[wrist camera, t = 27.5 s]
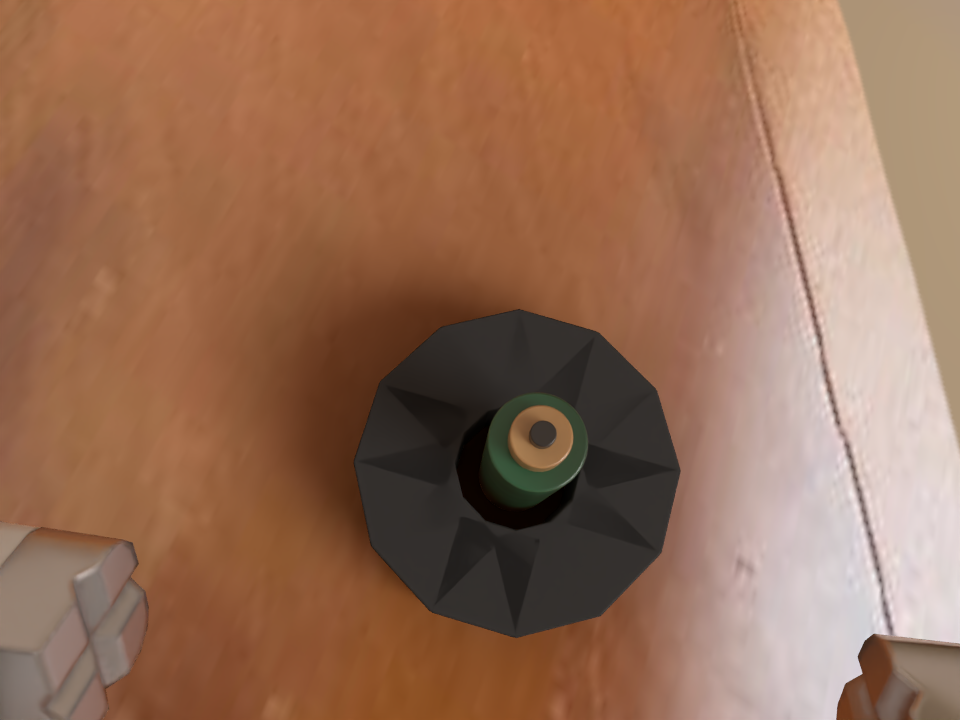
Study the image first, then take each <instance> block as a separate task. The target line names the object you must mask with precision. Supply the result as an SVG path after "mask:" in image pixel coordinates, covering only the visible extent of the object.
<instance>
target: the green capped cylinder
mask: <svg viewBox="0 0 960 720" xmlns="http://www.w3.org/2000/svg"><path fill="white" fill-rule="evenodd" d="M587 451H588V436H587V431H586V428H585V425H584V423H583V421H582V418H581V417H580V415H579V414H578V412H577V411H576V410H575V409H574V408H573V407H572V406H571V405H570V404H569V403H567V402H566V401H564V400H563V399H561V398H559V397H557V396H554V395H551V394H547V393H540V392H534V393H526V394H522V395H519V396H517V397H515V398H513V399H511V400H510V401H508V402H507V403H505V404H504V405H503V406H502V407H501V408H500V409H499V410H498V412H497V413H496V415H495V416H494V418H493V420H492V422H491V424H490V427H489V431H488V435H487V439H486V443H485V447H484V452H483V456H482V460H481V464H480V468H479V482H480V486H481V489H482V491H483V493H484V494H485V496H486V497H487V499H488V500H489V501H490V502H491V503H492V504H494V505H495V506H497V507H499V508H500V509H503V510H506V511H512V512H520V511H525V510H528V509H530V508H532V507H534V506H536V505H537V504H539V503H540V502H541V501H543V500H544V499H546V498H547V497H549V496H550V495H552V494H553V493H555V492H556V491H558V490H559V489H561V488H562V487H563V486H565V485H566V484H568V483H569V482H570V481H571V480H573V479H574V478H575V477H576V475H577V474H578V473H579V471H580V470H581V468H582V466H583V464H584V462H585V459H586V456H587Z"/></svg>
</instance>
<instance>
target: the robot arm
mask: <svg viewBox="0 0 960 720" xmlns="http://www.w3.org/2000/svg"><path fill="white" fill-rule="evenodd" d="M138 564H139V563H138V560H137V556H136V553H135V549H134V546H133V543H132V542H129V541H125V540H122V539H116V538H109V537H103V536H96V535H90V534H83V533H77V532H70V531H64V530H57V529H51V528H44V527H34V526H27V525H20V524H14V523H7V522H0V720H103V718H104V717H105V715H106V713H107V711H108V710H109V705H108V699H107V694H106V688H108V687H109V686H111V685H112V684H114V683H115V682H117V681H118V680H120V679H121V678H123V677H124V676H126V675H127V674H129V672H130V670H131V668H132V667H133V665H134V663H135V661H136V659H137V657H138V655H139V654H140V652H141V648H142V645H143V641H144V638H145V634H146V631H147V628H148V609H149V606H148V602H147V597H146V592H145V591H144V590H143V589H142V588H141V587H140V586H139V585H138V584H137V583H136V582H135V581H134V580H133V579H132V578H131V575H132V574H133V572H134V570H135V569H136V567H137V566H138ZM858 659H859V663H860V666H861V669H862V673H863V674H862V675H860V676H858V677H856V678H855V679H853V680H851V681H849V682H848V683H846V684H845V687H844V689H843V692H842V694H841V697H840V700H839V702H838V707H837V718H836V720H960V644H958V643H949V642H940V641H932V640H923V639H914V638H906V637H897V636H888V635H880V634H873V635H872V636H870V637H869V638H868V639H867V640H865V642H864V644H863V646H862V648H861V650H860V653H859V655H858Z"/></svg>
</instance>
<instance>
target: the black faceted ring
mask: <svg viewBox="0 0 960 720" xmlns="http://www.w3.org/2000/svg"><path fill="white" fill-rule="evenodd" d="M534 392H540V393H547V394H551V395H554V396H557V397H559V398H561V399H563V400H564V401H566V402H567V403H569V404H570V405H571V406H572V407H573V408H574V409H575V410H576V411H577V412H578V414H579V415H580V417H581V418H582V421H583V423H584V425H585V428H586V431H587V436H588V451H587V456H586V459H585V462H584V464H583V466H582V468H581V470H580V471H579V473H578V474H577V475H576V477H575V478H574V479H573V480H571V481H570V482H569V483H568V484H566V485H565V489H564V493H563V496H562V500H561V504H560V506H559V507H558V508H557V509H556V510H555V511H554V512H553V513H552V514H551V515H550V516H549V517H548V518H547V519H546V520H545V521H544V522H543V523H542V524H538V525H534V526H530V527H526V528H522V529H518V530H516V529H512V528H509V527H506V526H502V525H499V524H496V523H492V522H489V521H486V520H484V518H483V517H482V516H481V515H480V514H479V513H478V512H477V511H476V510H475V509H474V508H473V507H472V506H471V505H470V504H469V502H468V501H467V500H466V499H465V498H464V497H463V495H462V491H461V487H460V483H459V478H458V474H457V467H458V464H459V460H460V457H461V454H462V450H463V447H464V445H466V444H467V443H468V442H469V441H470V440H471V439H472V438H473V437H474V436H475V435H476V434H477V433H478V432H479V431H480V430H481V429H482V428H484V427H485V426H489V425H490V424H491V422H492V420H493V418H494V416H495V415H496V413H497V412H498V410H499V409H500V408H501V407H502V406H503V405H504V404H505V403H507V402H508V401H510V400H511V399H513V398H515V397H517V396H519V395H522V394H526V393H534ZM354 467H355V471H356V476H357V481H358V486H359V490H360V495H361V500H362V505H363V510H364V514H365V519H366V524H367V529H368V534H369V538H370V543H371V546H372V548H373V549H374V550H375V551H376V552H377V553H378V555H379V556H380V557H381V558H382V559H383V560H384V561H385V562H386V563H387V564H388V566H389V567H390V568H391V569H392V570H393V571H394V572H395V573H396V574H397V575H398V577H399V578H400V579H401V580H402V581H403V582H404V583H405V584H406V585H407V587H408V588H409V589H410V590H411V591H412V592H413V593H414V594H415V595H416V596H417V598H418V599H419V600H420V601H421V602H422V603H423V604H424V605H425V606H426V608H427V609H428V610H429V611H431V612H432V613H435V614H439V615H442V616H445V617H448V618H452V619H455V620H458V621H462V622H465V623H468V624H471V625H475V626H478V627H481V628H485V629H488V630H491V631H494V632H498V633H501V634H504V635H508V636H511V637H515V638H518V637H522V636H525V635H529V634H533V633H537V632H541V631H545V630H549V629H552V628H556V627H560V626H564V625H568V624H572V623H576V622H579V621H583V620H587V619H591V618H595V617H599V616H601V615H602V614H603V613H604V612H605V611H606V610H607V609H608V608H609V607H610V606H611V605H612V604H613V603H614V602H615V601H616V600H617V598H618V597H619V596H620V595H621V594H622V593H623V592H624V591H625V590H626V589H627V588H628V587H629V586H630V585H631V584H632V583H633V582H634V581H635V580H636V579H637V578H638V577H639V576H640V575H641V574H642V573H643V572H644V571H645V569H646V568H647V567H648V566H649V565H650V564H651V563H652V562H653V561H654V560H655V559H656V558H657V557H658V556H659V555H660V554H661V552H662V548H663V544H664V539H665V535H666V531H667V526H668V522H669V518H670V514H671V509H672V505H673V501H674V497H675V492H676V488H677V484H678V480H679V475H680V467H679V463H678V460H677V457H676V453H675V450H674V447H673V443H672V440H671V436H670V433H669V430H668V426H667V423H666V420H665V416H664V413H663V409H662V406H661V403H660V399H659V396H658V393H657V391H656V389H655V388H654V387H653V386H652V385H651V384H650V383H649V382H648V381H647V380H646V379H645V378H644V377H643V376H642V375H641V374H640V373H639V372H638V371H637V370H636V369H635V368H634V367H633V366H632V365H631V364H630V363H629V362H628V361H627V360H626V359H625V358H624V357H623V356H622V355H621V354H620V353H619V352H618V351H617V350H616V349H615V348H614V347H613V346H612V345H611V344H610V343H609V342H608V341H607V340H606V339H605V338H604V337H603V336H602V335H601V334H600V333H598V332H596V331H593V330H590V329H586V328H583V327H579V326H576V325H572V324H569V323H565V322H562V321H558V320H555V319H552V318H548V317H545V316H541V315H538V314H534V313H531V312H527V311H524V310H520V309H518V310H513V311H509V312H505V313H500V314H496V315H491V316H487V317H482V318H478V319H474V320H469V321H465V322H460V323H456V324H452V325H447V326H443V327H440V328H439V329H438V330H437V331H436V332H434V333H433V334H432V335H431V336H430V337H429V338H428V339H427V340H426V341H425V342H423V343H422V344H421V345H420V346H419V347H418V348H417V349H416V350H415V351H413V352H412V353H411V354H410V355H409V356H408V357H407V358H406V359H405V360H403V361H402V362H401V363H400V364H399V365H398V366H397V367H396V368H395V369H394V370H392V371H391V372H390V373H389V374H388V375H387V376H386V377H385V378H384V379H382V380H381V381H380V383H379V386H378V389H377V392H376V395H375V398H374V401H373V404H372V407H371V410H370V413H369V416H368V419H367V422H366V425H365V428H364V431H363V434H362V438H361V441H360V444H359V447H358V450H357V453H356V456H355V459H354Z"/></svg>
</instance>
